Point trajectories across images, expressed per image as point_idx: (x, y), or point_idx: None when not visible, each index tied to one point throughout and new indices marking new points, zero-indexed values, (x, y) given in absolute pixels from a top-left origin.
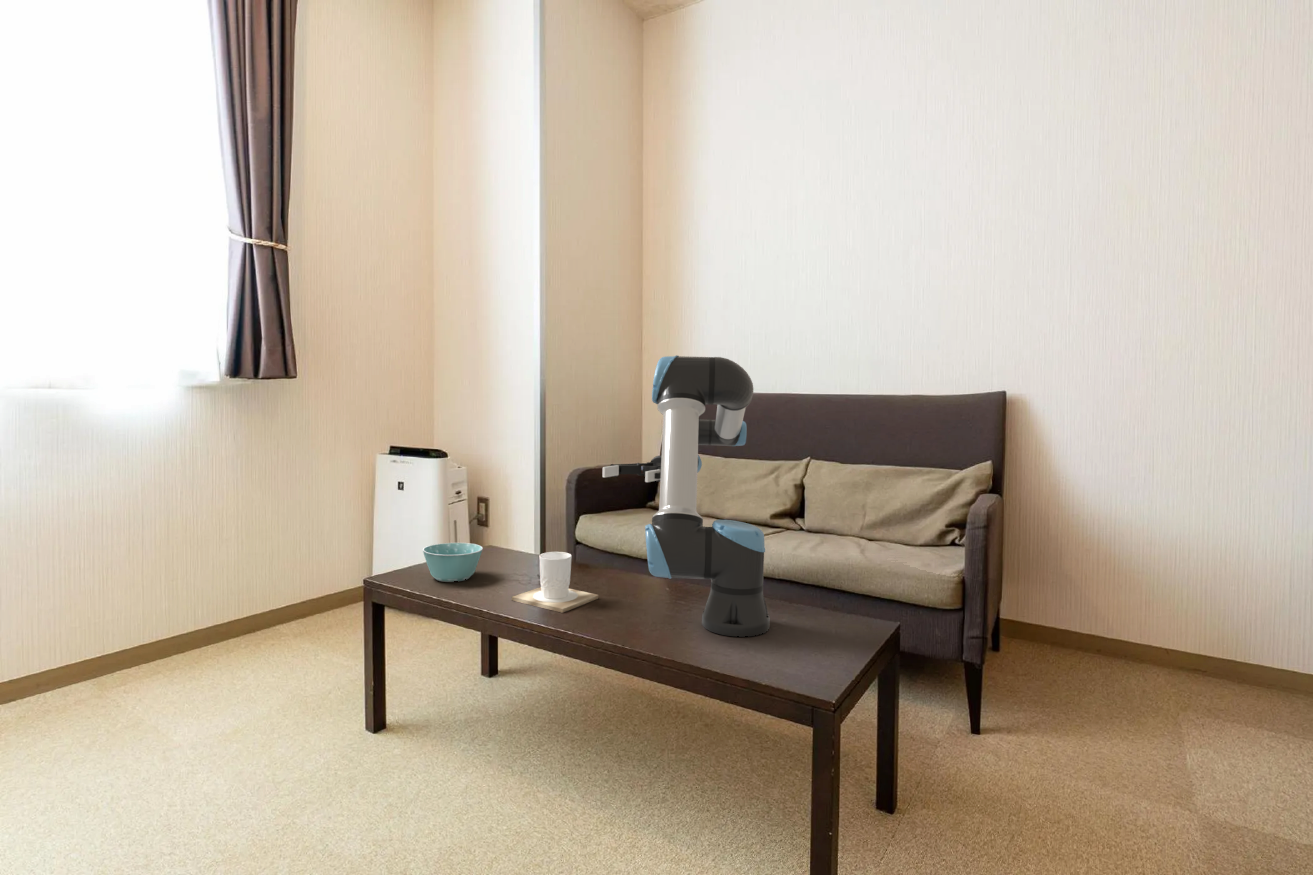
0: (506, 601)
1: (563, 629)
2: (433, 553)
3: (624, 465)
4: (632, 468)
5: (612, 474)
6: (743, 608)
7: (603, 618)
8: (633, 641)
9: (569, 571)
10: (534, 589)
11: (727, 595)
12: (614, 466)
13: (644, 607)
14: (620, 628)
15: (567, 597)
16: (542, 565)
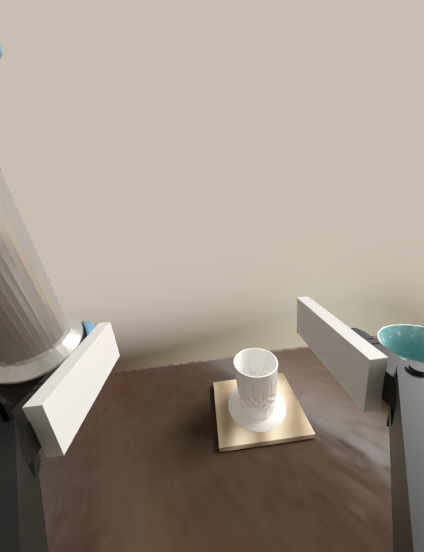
0: (282, 372)
1: (184, 364)
2: None
3: (414, 414)
4: (404, 509)
5: (325, 358)
6: None
7: (168, 401)
8: (118, 380)
9: (237, 384)
10: (297, 403)
11: None
12: (337, 334)
13: (137, 469)
14: (139, 393)
15: (239, 408)
16: (255, 356)
